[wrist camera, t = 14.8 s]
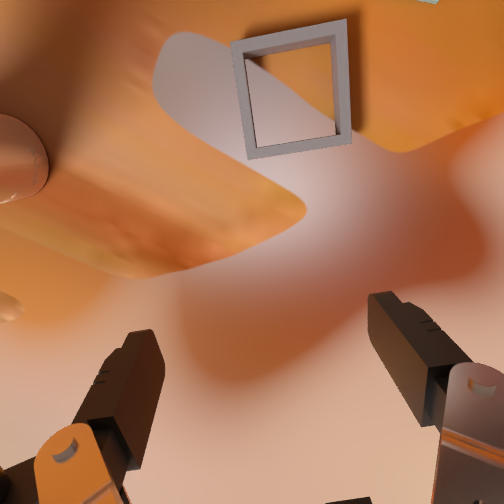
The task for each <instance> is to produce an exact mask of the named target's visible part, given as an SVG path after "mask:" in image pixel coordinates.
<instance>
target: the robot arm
mask: <svg viewBox="0 0 504 504" xmlns="http://www.w3.org/2000/svg"><path fill="white" fill-rule="evenodd" d="M48 170H49V164H48V157H47V154H46V151H45V148H44V146H43V144H42V142H41V141H40V139H39V138H38V136H37V135H36V134H35V132H34V131H33V130H32V129H31V128H30V127H28V126H27V125H26V124H25V123H23V122H22V121H20V120H19V119H17V118H14V117H12V116H9V115H4V114H0V204H1V203H5V202H9V201H13V200H18V199H22V198H26V197H30V196H32V195H34V194H36V193H38V192H39V191H40V190H41V189H42V188H43V186H44V184H45V183H46V180H47V177H48ZM368 333H369V337H370V341H371V343H372V345H373V347H374V348H375V350H376V352H377V354H378V355H379V357H380V359H381V360H382V362H383V363H384V365H385V367H386V369H387V370H388V372H389V374H390V375H391V377H392V379H393V381H394V382H395V384H396V386H397V387H398V389H399V391H400V392H401V394H402V396H403V397H404V399H405V401H406V402H407V404H408V406H409V407H410V409H411V411H412V412H413V414H414V416H415V417H416V419H417V421H418V422H419V424H420V426H421V427H426V426H432V425H435V426H436V428H437V429H438V431H439V432H440V440H439V447H438V455H437V462H436V470H435V477H434V484H433V491H432V499H431V504H504V374H503V373H501V372H500V371H498V370H496V369H494V368H492V367H489V366H487V365H483V364H480V363H474V362H473V361H472V360H471V359H470V358H469V357H468V356H467V355H466V354H465V353H464V352H463V351H462V350H461V348H459V346H458V345H457V344H456V343H455V342H454V341H453V340H452V339H450V337H449V336H448V335H447V334H446V333H445V332H444V331H443V330H441V328H440V327H439V326H438V325H437V324H436V322H433V319H432V318H431V317H429V315H428V314H427V313H426V312H425V311H424V310H423V309H421V308H419V307H417V306H415V305H414V304H412V303H410V302H407V303H402V302H401V301H400V300H399V299H398V297H397V296H396V295H395V294H394V293H393V292H392V291H386V292H380V293H374V294H369V296H368ZM164 378H165V363H164V359H163V356H162V354H161V351H160V348H159V345H158V343H157V340H156V337H155V335H154V332H153V331H152V330H151V329H147V330H141V331H135V332H130V333H129V334H128V335H127V337H126V339H125V342H124V343H123V346H122V348H117V349H115V350H114V351H113V352H112V353H111V354H110V356H108V358H107V359H106V360H105V361H104V363H103V365H102V367H101V369H100V370H99V375H97V376H96V378H95V380H94V382H93V385H92V386H91V388H90V390H89V392H88V393H87V395H86V397H85V399H84V401H83V403H82V405H81V407H80V409H79V410H78V412H77V414H76V416H75V418H74V420H73V422H72V424H71V425H69V426H67V427H65V428H63V429H61V430H59V431H58V432H56V433H55V434H54V435H53V436H51V437H50V438H49V439H48V440H47V441H46V442H45V443H44V445H43V446H42V447H41V449H40V450H39V452H38V453H37V455H36V456H35V457H33V458H31V459H28V460H26V461H24V462H22V463H20V464H17V465H15V466H12V467H10V468H8V469H6V470H3V469H2V468H1V466H0V504H131V502H130V499H129V497H128V495H127V492H126V490H125V487H124V486H123V480H124V477H125V474H126V471H131V470H138V469H140V468H141V465H142V461H143V457H144V453H145V449H146V445H147V442H148V438H149V434H150V431H151V426H152V423H153V419H154V415H155V411H156V408H157V404H158V400H159V397H160V393H161V389H162V385H163V381H164ZM326 504H372V502H371V499H370V497H364V498H357V499H351V500H344V501H337V502H330V503H326Z"/></svg>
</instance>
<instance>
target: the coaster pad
mask: <svg viewBox="0 0 504 504" xmlns="http://www.w3.org/2000/svg"><path fill="white" fill-rule="evenodd" d="M418 1H423V2H427V3H432V4H436V3H437V2H439V0H418Z"/></svg>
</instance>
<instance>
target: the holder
mask: <svg viewBox="0 0 504 504" xmlns="http://www.w3.org/2000/svg"><path fill="white" fill-rule="evenodd" d="M327 43H331V60H332V77H333V94H334V111H335V128H336V135H333V136H327V137H321V138H314V139H308V140H302V141H296V142H290V143H284V144H277V145H271V146H265V147H259V148H257V144H256V138H255V130H254V123H253V115H252V108H251V101H250V94H249V87H248V80H247V72H246V66H245V59H249V58H254V57H259V56H264V55H270V54H275V53H280V52H285V51H290V50H296V49H301V48H306V47H311V46H316V45H322V44H327ZM230 46H231V53H232V59H233V66H234V72H235V78H236V86H237V92H238V99H239V105H240V112H241V119H242V125H243V132H244V138H245V145H246V152H247V159H248V160H250V159H257V158H263V157H270V156H276V155H282V154H289V153H295V152H302V151H308V150H314V149H320V148H327V147H333V146H340V145H346V144H352V135H351V134H352V133H351V110H350V86H349V63H348V40H347V19H342V20H337V21H332V22H327V23H322V24H317V25H312V26H307V27H302V28H297V29H292V30H287V31H282V32H277V33H272V34H267V35H262V36H257V37H252V38H247V39H242V40H237V41H232V42H230Z"/></svg>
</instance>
